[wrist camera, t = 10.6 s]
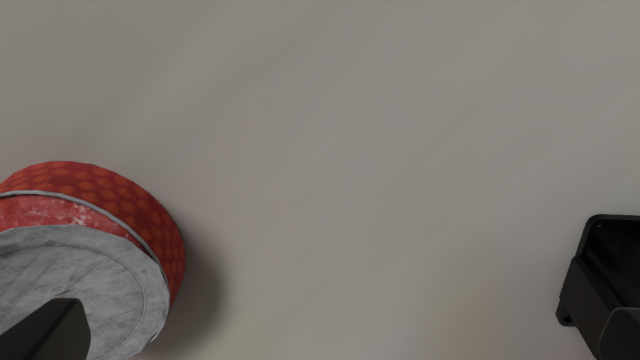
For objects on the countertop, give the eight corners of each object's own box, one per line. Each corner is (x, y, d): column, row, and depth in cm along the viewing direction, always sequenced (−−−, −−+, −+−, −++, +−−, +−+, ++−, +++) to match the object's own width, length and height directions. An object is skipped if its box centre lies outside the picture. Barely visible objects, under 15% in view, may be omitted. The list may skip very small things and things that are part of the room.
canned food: (117, 117, 26) (109, 132, 17) (209, 267, 29) (245, 348, 20) (-103, 228, 23) (-253, 317, 14) (25, 379, 27) (-30, 531, 17)
